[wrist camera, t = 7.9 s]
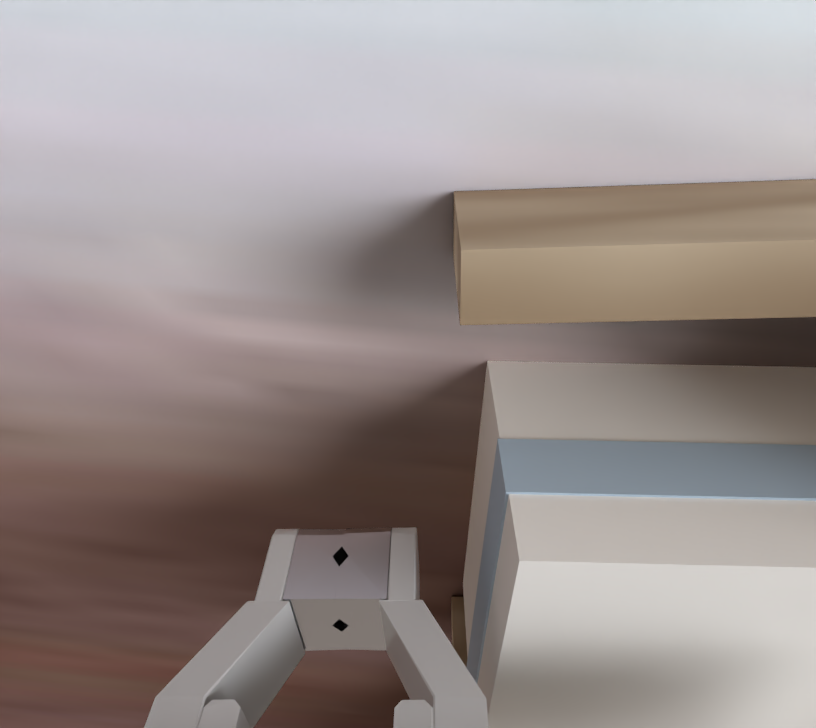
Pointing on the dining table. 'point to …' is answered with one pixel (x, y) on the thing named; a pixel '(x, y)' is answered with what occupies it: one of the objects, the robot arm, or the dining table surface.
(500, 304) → the stand
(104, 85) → the dining table surface
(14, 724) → the dining table surface
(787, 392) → the carton
